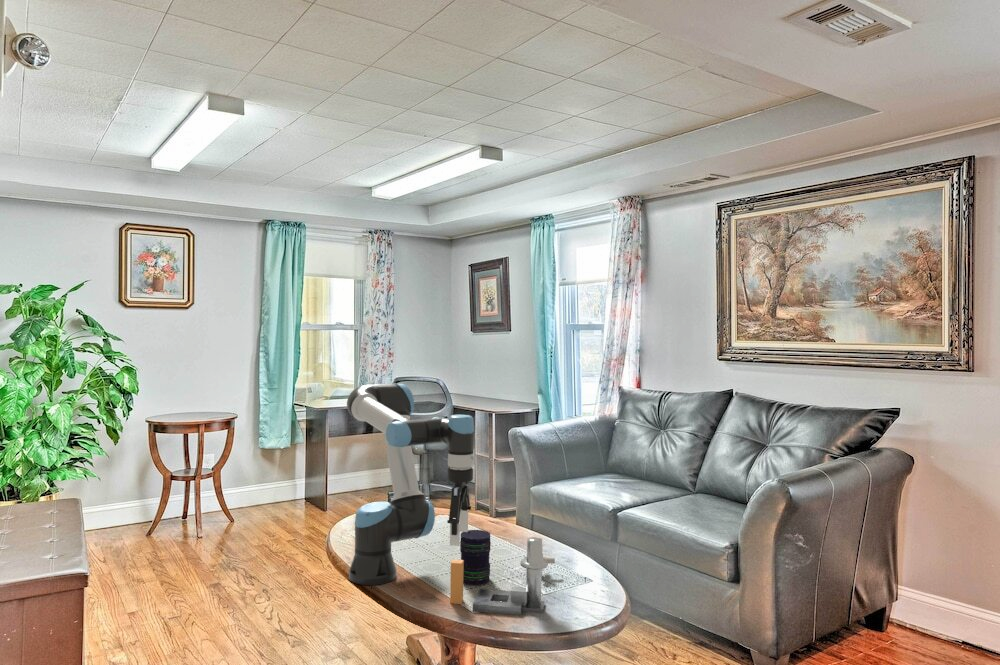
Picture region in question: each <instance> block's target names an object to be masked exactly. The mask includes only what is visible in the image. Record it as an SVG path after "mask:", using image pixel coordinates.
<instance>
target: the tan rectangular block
mask: <svg viewBox="0 0 1000 665" xmlns="http://www.w3.org/2000/svg"><path fill="white" fill-rule="evenodd" d="M463 572H464V560H461V559H458V558H457V559H456V558H454V559H452V561H451V562H450V586H449V587H450V594H449V596H450V597H449V601H450V602H449V604H458V605H461V604H462V603H463V601H464V584H463Z"/></svg>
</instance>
